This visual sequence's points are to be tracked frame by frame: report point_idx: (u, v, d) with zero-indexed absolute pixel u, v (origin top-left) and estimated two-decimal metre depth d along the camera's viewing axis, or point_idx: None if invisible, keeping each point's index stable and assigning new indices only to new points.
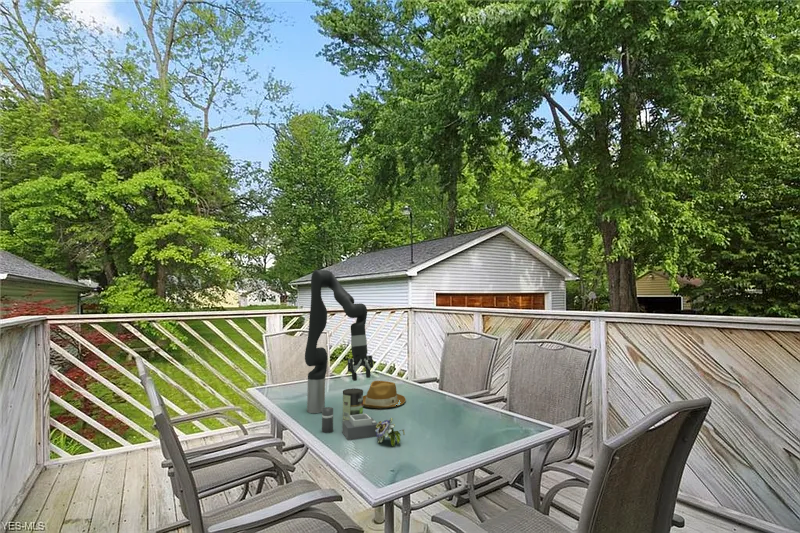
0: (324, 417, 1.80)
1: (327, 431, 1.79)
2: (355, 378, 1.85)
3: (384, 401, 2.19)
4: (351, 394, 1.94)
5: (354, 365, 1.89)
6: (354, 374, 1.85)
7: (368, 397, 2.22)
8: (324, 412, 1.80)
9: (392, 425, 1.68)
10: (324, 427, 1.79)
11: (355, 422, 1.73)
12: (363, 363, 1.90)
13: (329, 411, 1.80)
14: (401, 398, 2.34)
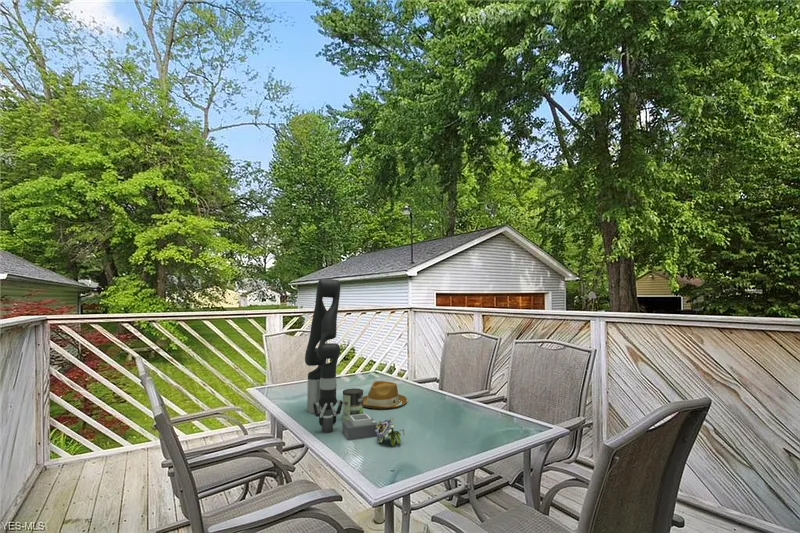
0: (324, 417, 1.80)
1: (327, 431, 1.79)
2: (320, 423, 1.80)
3: (385, 401, 2.19)
4: (351, 394, 1.94)
5: None
6: (320, 419, 1.80)
7: (369, 397, 2.21)
8: (324, 412, 1.80)
9: (392, 425, 1.68)
10: (324, 427, 1.79)
11: (355, 422, 1.73)
12: (329, 407, 1.81)
13: (329, 411, 1.80)
14: (402, 398, 2.33)
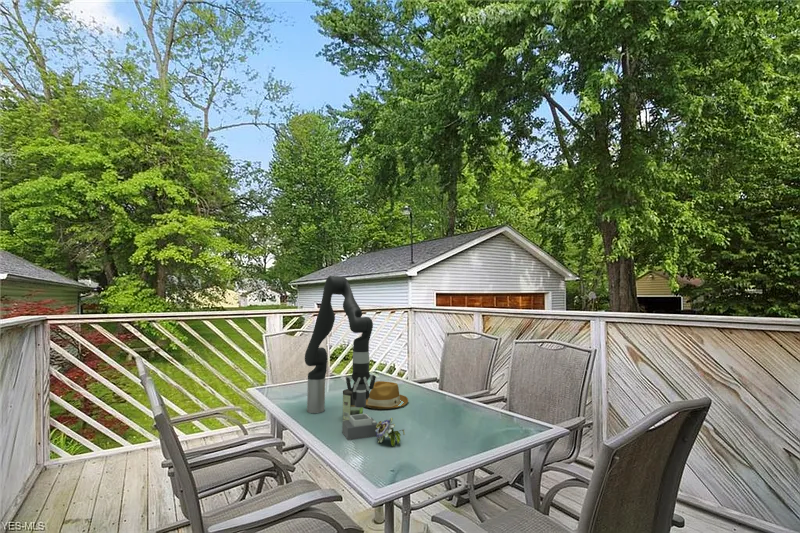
0: (357, 391, 1.77)
1: (361, 405, 1.76)
2: (354, 398, 1.77)
3: (387, 402, 2.18)
4: (351, 394, 1.94)
5: (355, 382, 1.80)
6: (353, 393, 1.77)
7: (370, 398, 2.20)
8: None
9: (392, 425, 1.68)
10: (357, 401, 1.76)
11: (355, 422, 1.73)
12: (362, 381, 1.78)
13: (363, 386, 1.77)
14: (404, 399, 2.32)
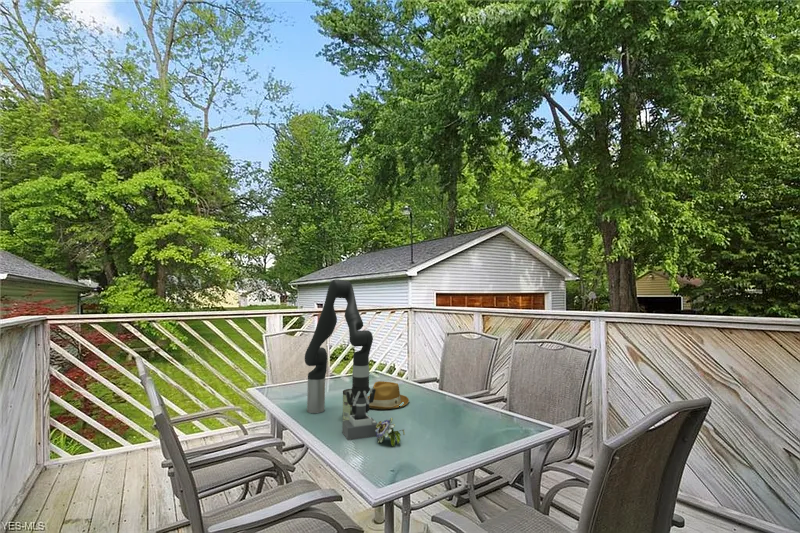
0: (357, 405, 1.76)
1: (360, 419, 1.76)
2: (354, 411, 1.77)
3: (387, 402, 2.18)
4: (351, 394, 1.94)
5: None
6: (353, 407, 1.77)
7: None
8: (357, 400, 1.77)
9: (392, 425, 1.68)
10: (357, 415, 1.76)
11: (355, 422, 1.73)
12: (362, 395, 1.78)
13: (363, 399, 1.77)
14: (404, 399, 2.32)
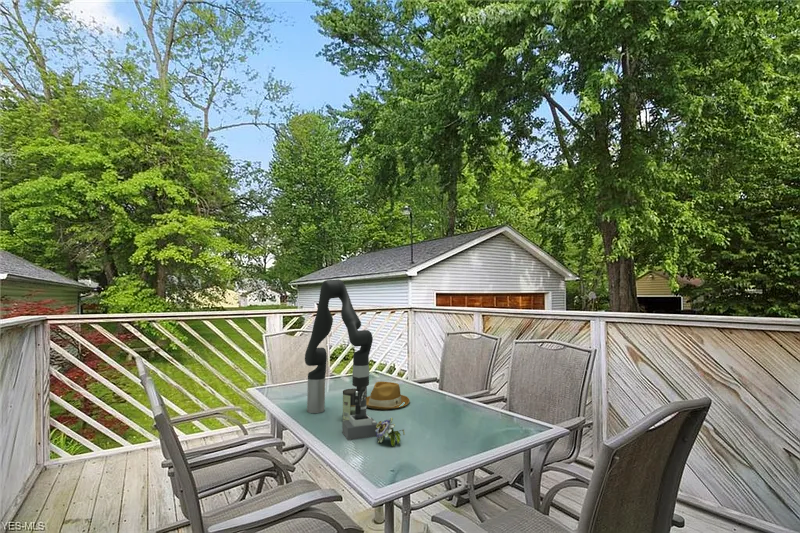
0: (363, 408, 1.77)
1: None
2: (359, 411, 1.74)
3: (388, 402, 2.17)
4: (351, 394, 1.94)
5: None
6: (359, 407, 1.74)
7: (372, 398, 2.20)
8: (363, 403, 1.77)
9: (392, 425, 1.68)
10: (363, 418, 1.77)
11: (355, 422, 1.73)
12: (363, 394, 1.80)
13: None
14: (405, 399, 2.32)
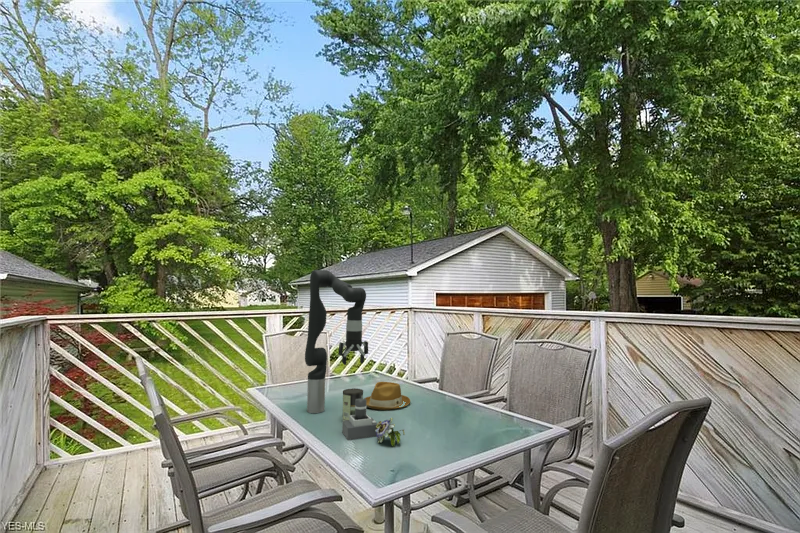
0: (363, 408, 1.77)
1: None
2: (344, 362, 1.85)
3: (389, 402, 2.17)
4: (351, 394, 1.94)
5: (347, 349, 1.88)
6: (344, 358, 1.85)
7: (372, 398, 2.19)
8: (363, 403, 1.77)
9: (392, 425, 1.68)
10: (363, 418, 1.77)
11: (355, 422, 1.73)
12: (356, 348, 1.87)
13: None
14: (406, 399, 2.31)
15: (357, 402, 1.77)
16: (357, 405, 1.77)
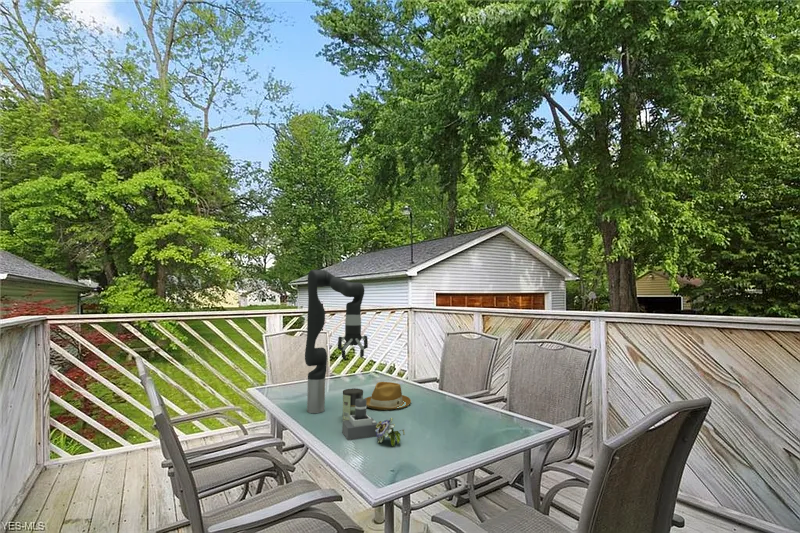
0: (363, 408, 1.77)
1: None
2: (343, 356, 1.87)
3: (389, 402, 2.17)
4: (351, 394, 1.94)
5: (346, 343, 1.90)
6: (343, 352, 1.87)
7: (373, 398, 2.19)
8: (363, 403, 1.77)
9: (392, 425, 1.68)
10: (363, 418, 1.77)
11: (355, 422, 1.73)
12: (355, 343, 1.89)
13: (366, 401, 1.79)
14: (406, 399, 2.31)
15: (357, 402, 1.77)
16: (357, 405, 1.77)
